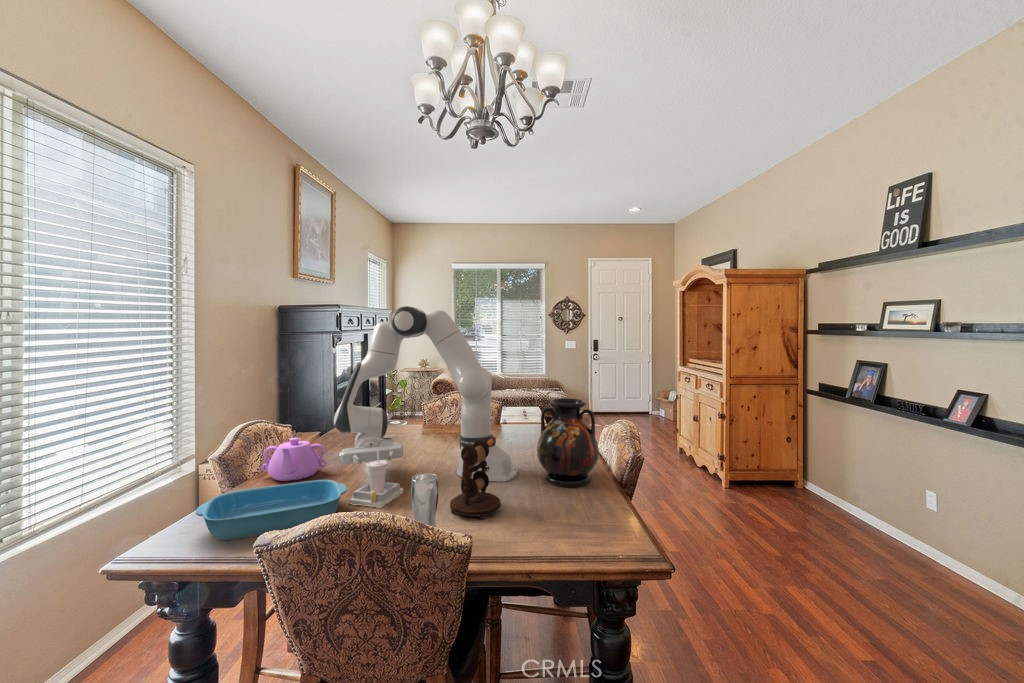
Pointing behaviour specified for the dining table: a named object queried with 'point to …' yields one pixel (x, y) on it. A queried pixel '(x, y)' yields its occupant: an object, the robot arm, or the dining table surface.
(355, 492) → the collar plate
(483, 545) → the dining table surface
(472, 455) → the brown spool stand
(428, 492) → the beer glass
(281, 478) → the teapot
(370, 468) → the smoothie
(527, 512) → the dining table surface
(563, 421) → the amphora vase
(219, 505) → the casserole dish
